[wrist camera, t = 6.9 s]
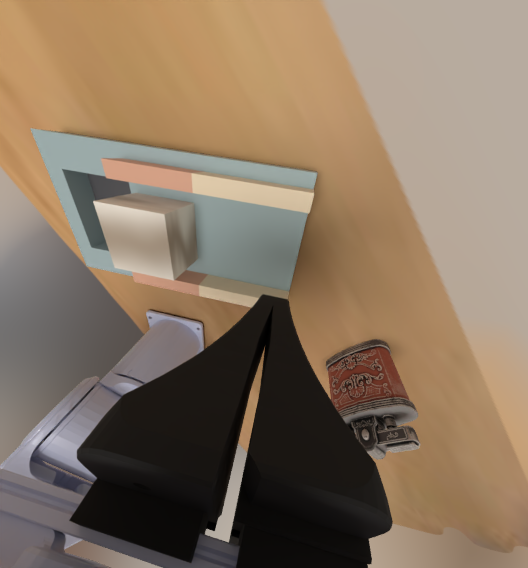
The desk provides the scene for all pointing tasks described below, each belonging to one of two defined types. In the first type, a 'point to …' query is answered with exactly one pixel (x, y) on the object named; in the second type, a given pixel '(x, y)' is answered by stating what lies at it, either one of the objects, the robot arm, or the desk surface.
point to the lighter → (372, 398)
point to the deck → (208, 210)
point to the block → (149, 233)
